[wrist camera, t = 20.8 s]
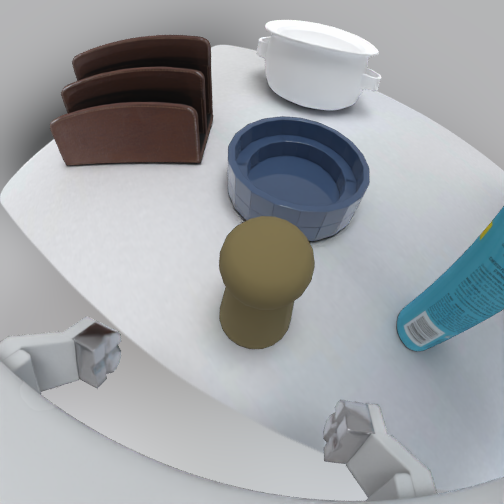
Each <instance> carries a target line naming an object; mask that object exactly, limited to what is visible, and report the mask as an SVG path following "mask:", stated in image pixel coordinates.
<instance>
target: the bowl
mask: <svg viewBox="0 0 504 504" xmlns="http://www.w3.org/2000/svg"><path fill="white" fill-rule="evenodd" d="M368 186H369V167H368V164H367V162H366V160H365V158H364V155H363V154H362V153H361V152H360V150H359V149H358V148H357V147H356V146H355V145H354V143H353V142H352V141H350V140H349V139H348V138H346V137H345V136H344V135H342V134H341V133H339V132H338V131H336V130H334V129H332V128H330V127H328V126H326V125H324V124H321V123H319V122H315V121H311V120H307V119H303V118H297V117H283V116H282V117H273V118H265V119H261V120H259V121H256V122H253V123H250V124H248V125H246V126H245V127H244V128H242V129H241V130H240V131H238V132H237V133H236V134H235V136H234V137H233V139H232V141H231V142H230V144H229V147H228V193H229V196H230V198H231V201H232V203H233V205H234V208H235V209H236V210H237V211H238V212H239V213H240V214H241V215H242V216H243V217H244V219H245V220H246V221H247V220H249V219H252V218H256V217H260V216H270V217H277V218H281V219H284V220H287V221H288V222H290V223H292V224H293V225H295V226H297V227H298V228H299V230H300V231H301V232H302V233H303V234H304V235H305V236H306V237H307V239H308V241H317V240H320V239H323V238H327V237H330V236H333V235H335V234H336V233H337V232H339V231H340V230H341V229H343V228H344V227H345V226H347V225H348V224H349V222H350V220H351V218H352V216H353V214H354V212H355V211H356V209H357V207H358V205H359V203H360V201H361V199H362V197H363V195H364V193H365V191H366V189H367V188H368Z"/></svg>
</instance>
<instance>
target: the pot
mask: <svg viewBox="0 0 504 504" xmlns="http://www.w3.org/2000/svg"><path fill="white" fill-rule="evenodd" d="M265 28H266V30H267V31H269V32H270V33H272V35H271V37H262V38H260V39H259V42H258V47H257V55H258V56H259V57H262V58H264V59H265V73H266V77H267V81H268V85H269V86H270V87H271V89H272V90H273V91H274V92H275V93H277V94H278V95H279V96H281V97H283V98H285V99H287V100H289V101H291V102H293V103H296V104H298V105H301V106H304V107H309V108H314V109H321V110H339V109H342V108H345V107H349V106H351V105H354V104H355V102H356V101H357V99H358V98H359V96H360V95H361V93H362V91H363V89H365V90H370V91H377V90H378V87H379V84H380V80H381V75H379V74H378V73H377V72H375V71H373V70H372V69H370V68H368V67H367V64H368V57H372V56H376V55H378V53H379V52H378V50H377V49H376V48H375V47H374V46H373V45H372V44H371V43H369V42H368V41H366V40H364V39H363V38H361V37H358V36H356V35H354V34H351V33H349V32H346V31H343V30H340V29H337V28H334V27H331V26H326V25H322V24H318V23H312V22H304V21H298V20H276V21H271V22H268V23H267V24H266V25H265Z"/></svg>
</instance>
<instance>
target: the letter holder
mask: <svg viewBox="0 0 504 504" xmlns="http://www.w3.org/2000/svg"><path fill="white" fill-rule="evenodd" d="M72 64H73V68H74V72H75V75H76V78H77V81H76V82H74V83H71V84H69V85H67V86H65V87H64V88H63V90H62V92H61V96H62V98H63V102H64V104H65V107H66V109H67V112H68V114H65V115H62V116H60V117H58V118H56V119H54V120H53V121H52V122H51V123H50V129H51V132H52V134H53V137H54V139H55V142H56V144H57V146H58V148H59V151H60V153H61V156H62V158H63V160H64V162H65V164H66V165H80V164H82V165H83V164H98V163H128V162H186V163H201V160H202V156H203V152H204V149H205V145H206V142H207V138H208V135H209V131H210V128H211V124H212V121H213V110H212V80H211V46H210V43H209V41H208V40H207V39H205V38H203V37H198V36H185V35H156V36H146V37H138V38H131V39H126V40H121V41H117V42H113V43H109V44H105V45H102V46H99V47H96V48H93V49H90V50H88V51H86V52H83V53H81V54H79V55H77V56H75V57H74V59H73V61H72Z"/></svg>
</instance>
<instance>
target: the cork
mask: <svg viewBox="0 0 504 504" xmlns="http://www.w3.org/2000/svg"><path fill="white" fill-rule="evenodd" d="M219 268H220V273H221V276H222V279H223V282H224V284H225V286H226V288H225V291H224V295H223V299H222V302H221V306H220V318H219V319H220V322H221V326H222V329H223V331H224V332H225V333H226V335H227V336H228V338H229V339H231V340H232V341H233V342H235V343H236V344H237V345H239V346H242V347H245V348H248V349H263V348H266V347H269V346H272V345H274V344H275V343H277V342H278V341H279V340H281V339H282V338H283V336H284V335H285V333H286V332H287V330H288V328H289V324H290V321H291V315H292V310H293V304H294V301H295V300H296V299H298V298H299V297H300V296H301V295H302V294H303V292H304V291H305V289H306V288H307V286H308V285H309V283H310V282H311V280H312V275H313V271H314V255H313V249H312V247H311V245H310V243H309V241H308V239H307V237H306V236H305V235H304V234H303V233H302V232H301V231H300V230H299V228H298V227H297V226H295V225H293V224H292V223H290V222H288V221H287V220H284V219H281V218H277V217H270V216H260V217H256V218H252V219H249V220H247V221H245V222H243V223H241V224H240V225H238V226H236V227H235V228H234V229H233V230H232V231H231V232H230V233H229V234H228V235H227V237H226V239H225V242H224V244H223V246H222V249H221V251H220V260H219Z"/></svg>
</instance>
